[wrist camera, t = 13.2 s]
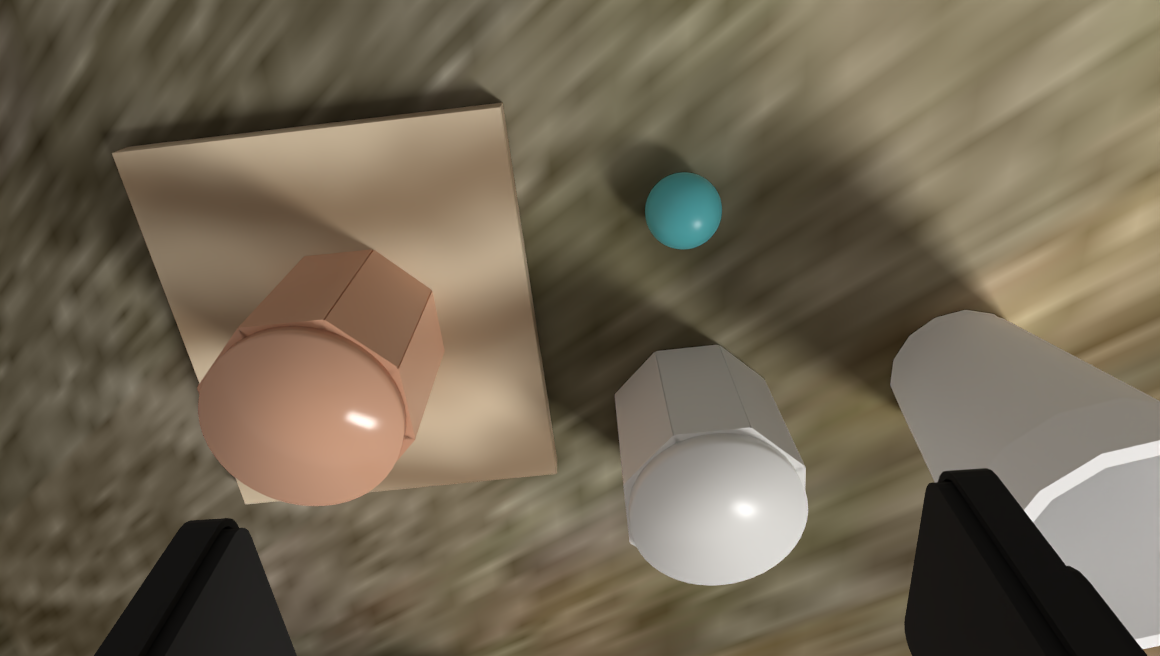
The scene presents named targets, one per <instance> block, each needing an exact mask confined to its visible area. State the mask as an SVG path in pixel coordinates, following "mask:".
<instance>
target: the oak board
mask: <svg viewBox="0 0 1160 656" xmlns="http://www.w3.org/2000/svg"><path fill="white" fill-rule="evenodd" d="M112 155H113V158H114V160H115V163H116V166H117V168H118V171H119V173H120V176H121V179H122V181H123V184H124V187H125V189H126V192H127V194H128V197H129V200H130V202H131V205H132V208H133V210H134V213H135V215H136V218H137V221H138V223H139V226H140V229H141V231H142V234H143V236H144V239H145V242H146V244H147V247H148V250H149V252H150V255H151V257H152V260H153V263H154V265H155V268H156V271H157V273H158V276H159V278H160V281H161V284H162V286H163V289H164V292H165V294H166V297H167V299H168V302H169V305H170V307H171V310H172V313H173V315H174V318H175V320H176V323H177V326H178V328H179V331H180V334H181V336H182V339H183V341H184V344H185V347H186V349H187V352H188V355H189V357H190V360H191V362H192V365H193V368H194V370H195V373H196V376H197V378H198V381H199V383H200V382H201V381H202V379H203V378H204V376H205V375H206V373H207V372H208V370H209V369H210V367H211V366H212V364H213V363H214V362H215V360H216V359H217V357H218V356H219V354H220V353H221V351H222V350H223V348H224V347H225V345H226V344H227V343H228V341H229V340H230V338H231V337H232V335H233V334H234V332H235V331H236V329H237V328H238V327H239V326H240V325H241V324H242V323H243V322H244V321H245V319H246V318H247V317H248V316H249V315H250V314H251V313H252V312H253V311H254V310H255V309H256V308H257V306H258V305H259V304H260V303H261V302H262V301H263V300H264V299H265V298H266V297H267V296H268V295H269V294H270V292H271V291H272V290H273V289H274V288H275V287H276V286H277V285H278V284H279V283H280V282H281V281H282V280H283V278H284V277H285V276H286V275H287V274H288V273H289V272H290V271H291V270H292V269H293V268H294V267H295V265H296V264H297V263H298V262H299V261H300V260H301V259H302V258H303V257H304V256H312V255H321V254H331V253H341V252H351V251H360V250H370V249H373V250H375V251H377V252H378V253H380V254H381V255H382V256H384V257H385V258H387V259H388V260H390V261H391V262H393V263H394V264H395V265H397V266H398V267H400V268H401V269H403V270H404V271H405V272H407V273H408V274H410V275H411V276H413V277H414V278H416V279H417V280H418V281H420V282H421V283H423V284H424V285H426V286H427V287H428V288H430V289H431V291H433V296H434V301H435V306H436V311H437V316H438V321H439V326H440V330H441V335H442V340H443V345H444V350H445V351H444V354H443V357H442V360H441V363H440V366H439V369H438V372H437V375H436V378H435V381H434V384H433V387H432V390H431V393H430V396H429V399H428V402H427V405H426V408H425V411H424V414H423V418H422V421H421V424H420V427H419V430H418V433H417V436H416V439H415V441H414V442H413V443H412V444H411V445H410V446H409V448H408V449H407V450H406V451H405V452H404V453H403V455H402V456H401V457H400V458H399V459H398V460H397V462H396V463H395V465H394V467H393V469H392V470H391V471H390V473H389V474H388V475H387V477H386V478H385V479H384V480H383V481H382V482H381V483H380V484H379V485H378V486H376V487H375V488H374V489H373V490H371V491H369V492H376V491H386V490H396V489H406V488H417V487H427V486H437V485H447V484H457V483H467V482H478V481H488V480H498V479H508V478H518V477H528V476H539V475H549V474H557V456H556V449H555V442H554V436H553V429H552V423H551V416H550V410H549V403H548V397H547V390H546V383H545V377H544V370H543V364H542V357H541V351H540V344H539V338H538V331H537V324H536V318H535V311H534V305H533V298H532V292H531V285H530V279H529V272H528V265H527V259H526V252H525V246H524V239H523V233H522V226H521V220H520V213H519V206H518V200H517V193H516V187H515V180H514V174H513V167H512V161H511V154H510V147H509V141H508V134H507V128H506V121H505V115H504V108H503V102H502V103H494V104H485V105H477V106H468V107H460V108H451V109H443V110H435V111H426V112H418V113H409V114H401V115H392V116H384V117H376V118H367V119H359V120H350V121H342V122H333V123H325V124H316V125H308V126H300V127H291V128H283V129H274V130H266V131H257V132H249V133H240V134H232V135H224V136H215V137H207V138H198V139H190V140H181V141H173V142H164V143H156V144H148V145H139V146H131V147H126V148H123V149H121V150H118V151H116V152H114V153H112ZM236 480H237V483H238V486H239V488H240V491H241V494H242V496H243V499H244V501H245V504H254V503H264V502H274V501H279V500H276V499H273V498H270V497H268V496H265V495H263V494H261V493H259V492H257V491H255V490H253V489H251V488H250V487H248V486H246V485H245V484H243V483H242V482H240V481H239V480H238V479H236Z"/></svg>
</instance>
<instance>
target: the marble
mask: <svg viewBox="0 0 1160 656" xmlns="http://www.w3.org/2000/svg"><path fill="white" fill-rule="evenodd" d="M721 216H722V203H721V199H720V197H719V194H718V192H717V190H716V189H715V187H714V186H713V185H712V184H711V183H710V182H709V181H708V180H707V179H705V178H704V177H702V176H700V175H697V174H694V173H688V172H680V173H675V174H671V175H669V176H667V177H665V178H663V179H662V180H660V181H659V182H658V183H657V184H656V185H655V186H654V187H653V189H652V190H651V192H650V194H649V196H648V198H647V201H646V206H645V217H646V222H647V225H648V227H649V230H650V231H651V233H652V234H653V236H654V237H655V238H656V239H657V240H658V241H660V242H661V243H662V244H664V245H666V246H668V247H671V248H675V249H691V248H695V247H698V246H700V245H702V244H703V243H705V242H706V241H708V240H709V239H710V238H711V237H712V236H713V234H714V233H715V232H716V230H717V228H718V226H719V224H720V221H721Z"/></svg>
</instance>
